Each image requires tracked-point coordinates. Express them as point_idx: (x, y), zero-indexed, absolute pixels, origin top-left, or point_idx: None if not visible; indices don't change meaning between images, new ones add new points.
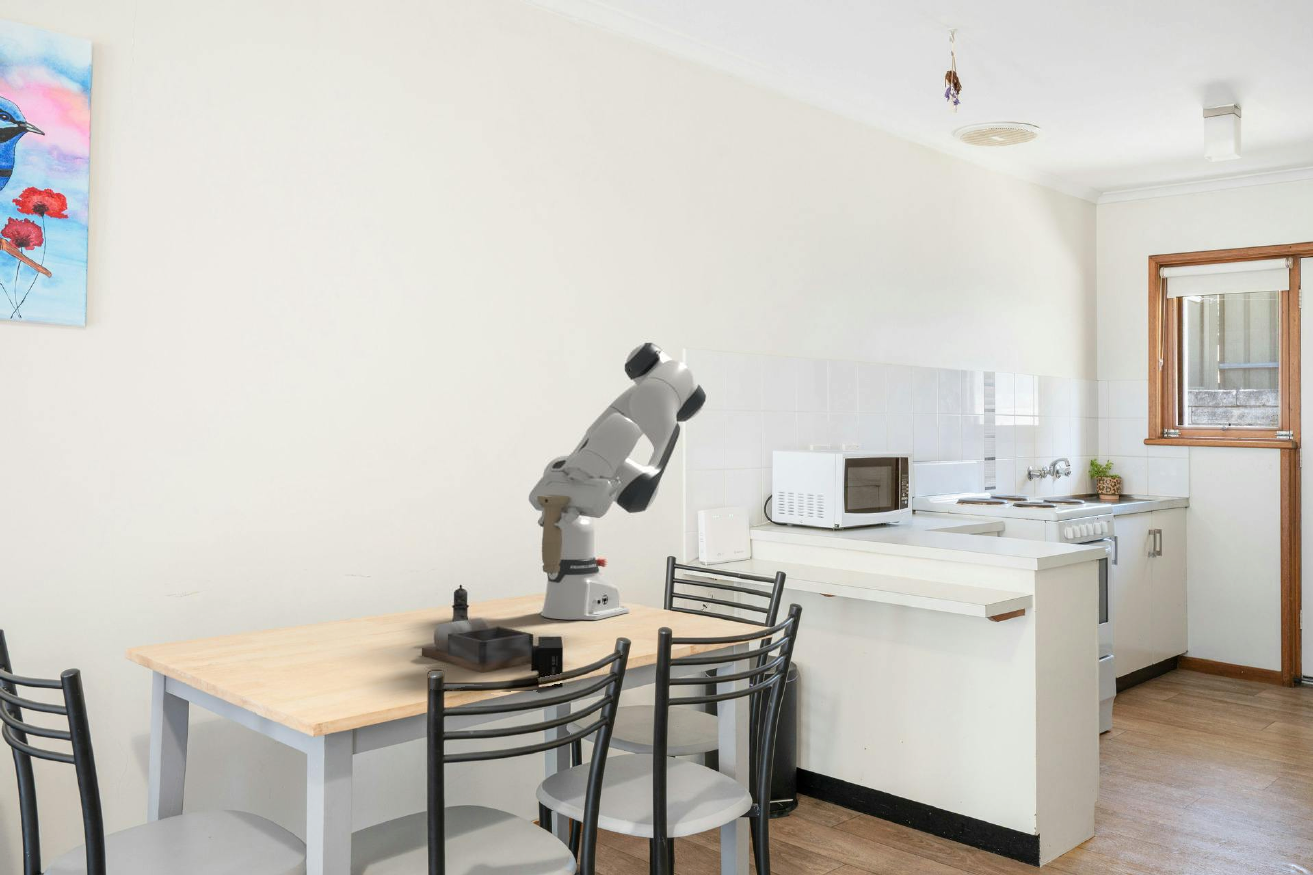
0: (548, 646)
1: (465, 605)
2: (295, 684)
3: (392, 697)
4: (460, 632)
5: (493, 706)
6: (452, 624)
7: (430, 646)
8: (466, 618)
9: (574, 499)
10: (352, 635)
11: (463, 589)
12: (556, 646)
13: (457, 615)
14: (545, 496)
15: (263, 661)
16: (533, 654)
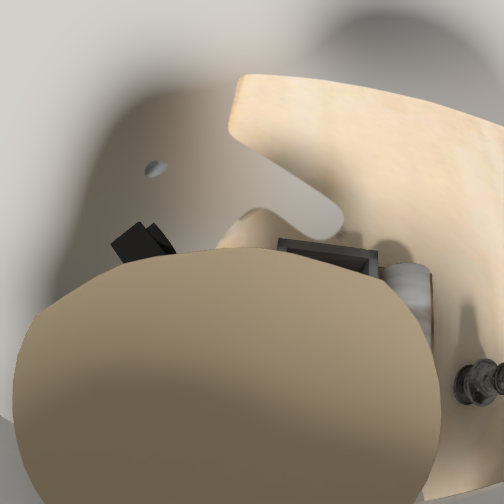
0: (132, 237)
1: (497, 381)
2: (375, 118)
3: (262, 132)
4: (375, 273)
5: (152, 166)
6: (405, 276)
7: (431, 288)
8: (482, 386)
9: (6, 468)
10: None
11: None
12: (121, 243)
13: (490, 370)
14: (203, 253)
15: (478, 159)
16: (151, 224)
